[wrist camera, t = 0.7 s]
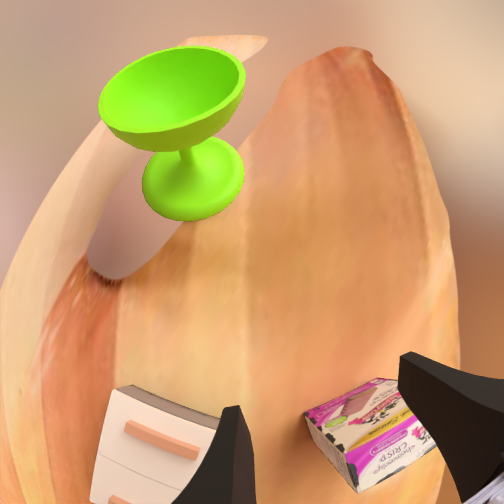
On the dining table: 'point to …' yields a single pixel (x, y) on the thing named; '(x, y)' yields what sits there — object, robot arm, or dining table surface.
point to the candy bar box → (369, 433)
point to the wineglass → (180, 127)
